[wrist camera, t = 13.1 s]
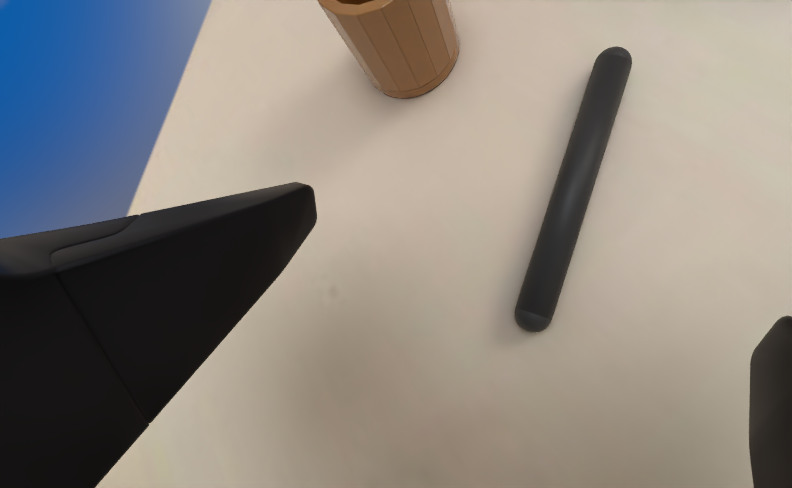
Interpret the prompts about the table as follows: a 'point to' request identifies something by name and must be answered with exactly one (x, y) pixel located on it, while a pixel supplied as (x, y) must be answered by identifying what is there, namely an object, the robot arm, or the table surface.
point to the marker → (572, 190)
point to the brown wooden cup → (398, 41)
